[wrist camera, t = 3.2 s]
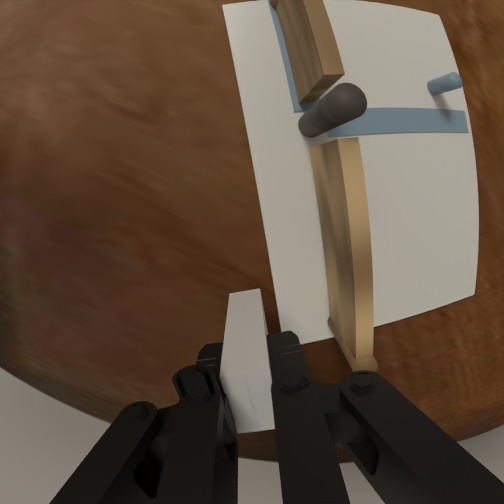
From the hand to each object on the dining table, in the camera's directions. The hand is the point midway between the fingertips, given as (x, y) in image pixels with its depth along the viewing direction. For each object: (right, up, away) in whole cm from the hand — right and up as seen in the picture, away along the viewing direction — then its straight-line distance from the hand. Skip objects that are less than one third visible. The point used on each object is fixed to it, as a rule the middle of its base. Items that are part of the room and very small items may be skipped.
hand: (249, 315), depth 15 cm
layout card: (+9, +10, +3) cm, 14 cm away
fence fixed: (+3, +16, +2) cm, 16 cm away
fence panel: (+5, +4, +4) cm, 7 cm away
